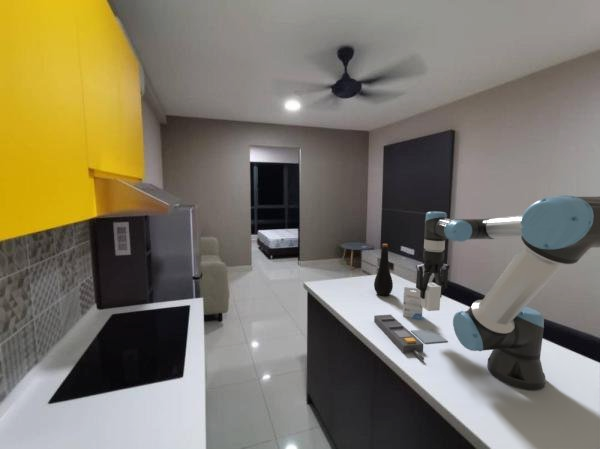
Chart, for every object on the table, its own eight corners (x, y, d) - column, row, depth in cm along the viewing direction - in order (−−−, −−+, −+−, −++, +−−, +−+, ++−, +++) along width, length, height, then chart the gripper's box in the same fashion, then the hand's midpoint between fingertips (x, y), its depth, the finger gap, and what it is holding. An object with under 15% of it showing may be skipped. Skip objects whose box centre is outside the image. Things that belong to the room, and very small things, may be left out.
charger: (439, 310, 114) (441, 285, 112) (428, 311, 113) (429, 286, 112) (431, 305, 119) (433, 281, 117) (421, 306, 118) (422, 282, 117)
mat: (447, 341, 113) (447, 340, 113) (424, 343, 111) (424, 342, 111) (432, 329, 123) (432, 328, 123) (411, 331, 121) (411, 330, 121)
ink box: (422, 316, 136) (424, 286, 135) (421, 320, 132) (423, 289, 130) (403, 312, 140) (405, 283, 139) (402, 316, 136) (403, 286, 134)
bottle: (369, 292, 168) (371, 243, 165) (383, 290, 172) (385, 242, 169) (382, 298, 158) (384, 246, 155) (396, 296, 163) (398, 245, 160)
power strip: (432, 360, 100) (433, 350, 99) (412, 362, 98) (412, 352, 98) (390, 320, 131) (390, 312, 131) (374, 321, 130) (374, 313, 129)
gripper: (447, 247, 118) (444, 300, 121) (408, 248, 115) (405, 303, 118) (460, 251, 111) (456, 307, 113) (418, 252, 108) (415, 310, 110)
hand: (430, 305), depth 116 cm, fingers closed on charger, 5 cm apart
